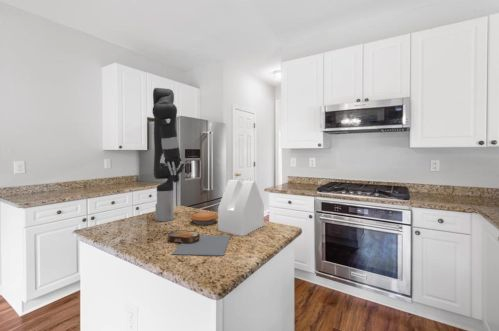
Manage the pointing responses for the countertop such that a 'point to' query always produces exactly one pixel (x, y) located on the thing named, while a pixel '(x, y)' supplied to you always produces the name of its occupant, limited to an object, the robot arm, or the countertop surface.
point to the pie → (204, 218)
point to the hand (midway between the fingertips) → (176, 181)
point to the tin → (183, 236)
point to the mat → (204, 246)
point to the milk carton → (240, 208)
